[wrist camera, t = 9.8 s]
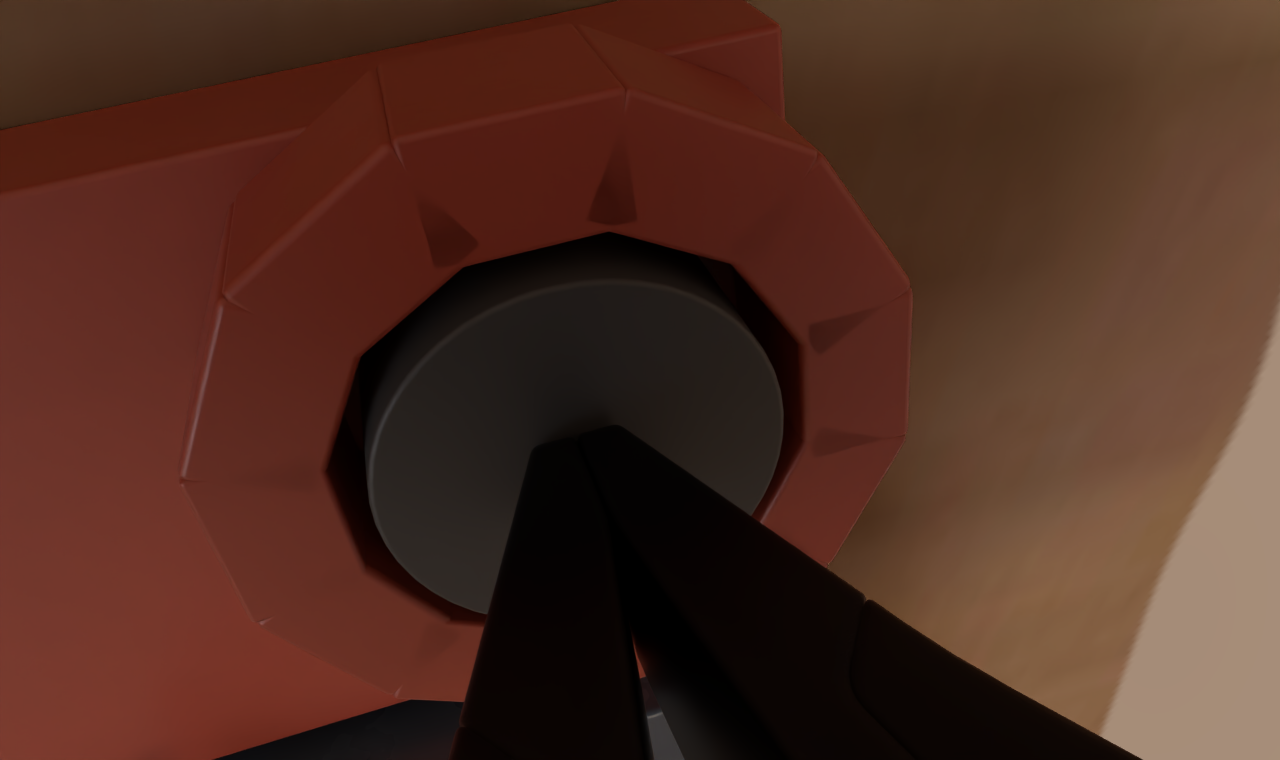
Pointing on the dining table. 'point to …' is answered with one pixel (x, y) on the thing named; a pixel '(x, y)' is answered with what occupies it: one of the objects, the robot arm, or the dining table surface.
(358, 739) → the dark grey panel
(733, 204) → the button box
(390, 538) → the button
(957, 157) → the dining table surface
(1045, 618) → the dining table surface
